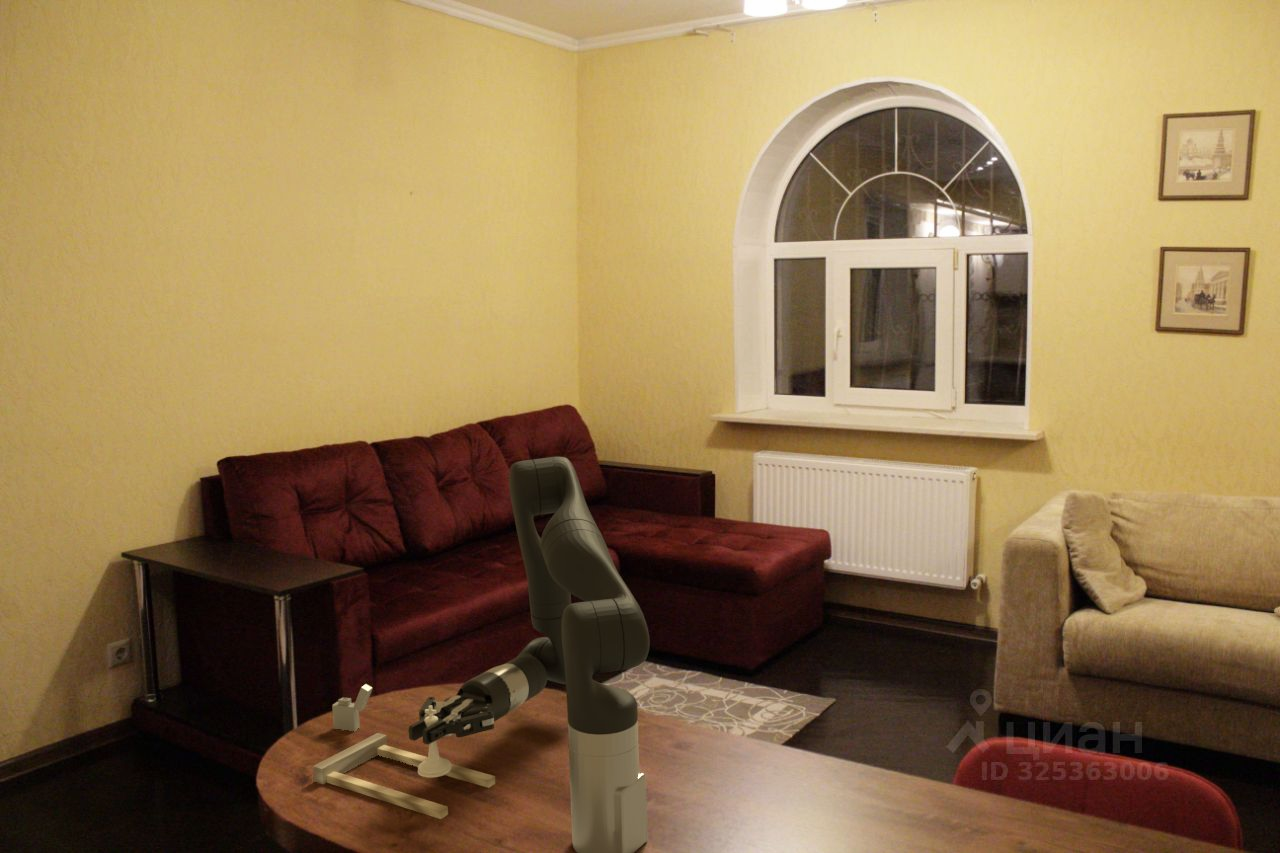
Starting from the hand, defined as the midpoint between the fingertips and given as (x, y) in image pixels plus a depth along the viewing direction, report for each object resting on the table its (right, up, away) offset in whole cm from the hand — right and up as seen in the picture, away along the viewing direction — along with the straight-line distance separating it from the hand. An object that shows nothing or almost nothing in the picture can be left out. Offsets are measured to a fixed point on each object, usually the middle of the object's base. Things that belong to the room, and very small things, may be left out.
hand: (418, 735), depth 153 cm
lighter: (-16, -7, +26) cm, 32 cm away
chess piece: (+2, -6, +3) cm, 7 cm away
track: (-3, -9, +6) cm, 11 cm away
